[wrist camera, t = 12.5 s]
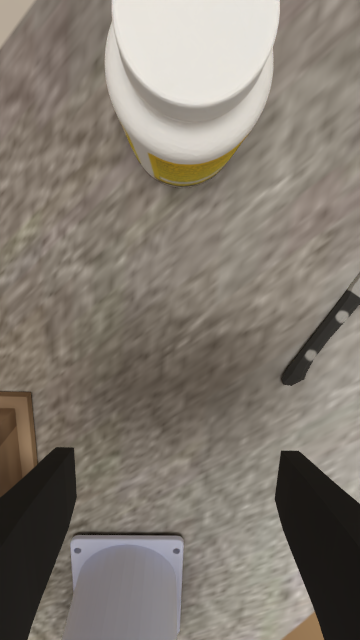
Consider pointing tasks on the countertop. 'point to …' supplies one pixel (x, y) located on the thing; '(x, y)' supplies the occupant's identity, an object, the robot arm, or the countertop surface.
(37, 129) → the countertop surface
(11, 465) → the wooden peg socket
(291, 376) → the chef's knife
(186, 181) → the supplement bottle
